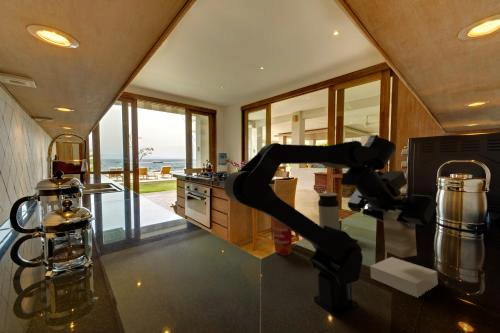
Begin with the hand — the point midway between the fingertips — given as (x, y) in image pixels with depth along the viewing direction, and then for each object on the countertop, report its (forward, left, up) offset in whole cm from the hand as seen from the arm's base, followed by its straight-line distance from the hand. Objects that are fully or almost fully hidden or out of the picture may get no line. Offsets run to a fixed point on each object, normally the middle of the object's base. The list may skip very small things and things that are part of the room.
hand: (402, 225), depth 52 cm
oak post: (-1, 0, -7) cm, 7 cm away
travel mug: (+12, +33, -14) cm, 37 cm away
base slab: (-1, 0, -13) cm, 13 cm away
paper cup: (-14, +31, -13) cm, 37 cm away
